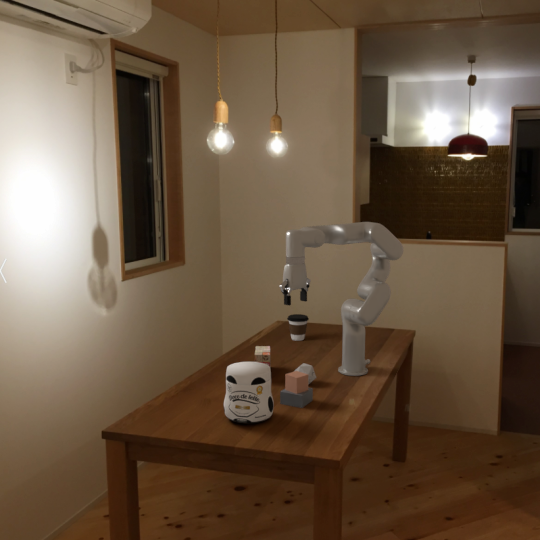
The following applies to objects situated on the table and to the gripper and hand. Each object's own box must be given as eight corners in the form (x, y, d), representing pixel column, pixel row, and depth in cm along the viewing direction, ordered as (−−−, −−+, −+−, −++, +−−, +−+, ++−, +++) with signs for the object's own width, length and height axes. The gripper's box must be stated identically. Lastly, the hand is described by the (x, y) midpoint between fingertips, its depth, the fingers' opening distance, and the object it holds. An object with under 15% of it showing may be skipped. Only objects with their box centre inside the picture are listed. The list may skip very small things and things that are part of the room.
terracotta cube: (296, 386, 238) (296, 370, 237) (308, 390, 234) (308, 374, 233) (285, 389, 234) (285, 374, 233) (296, 393, 230) (296, 378, 229)
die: (295, 388, 251) (310, 371, 248) (286, 373, 257) (300, 356, 254) (309, 391, 256) (323, 375, 253) (300, 376, 262) (314, 360, 259)
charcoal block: (291, 397, 241) (291, 384, 240) (312, 401, 237) (312, 388, 236) (280, 404, 233) (280, 391, 232) (302, 408, 229) (302, 395, 228)
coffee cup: (288, 336, 329) (288, 313, 328) (309, 336, 328) (309, 314, 326) (285, 341, 319) (286, 318, 317) (307, 342, 317) (307, 319, 315)
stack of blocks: (256, 367, 277) (256, 340, 275) (270, 367, 277) (270, 340, 275) (254, 383, 256) (254, 354, 254) (270, 383, 256) (270, 354, 254)
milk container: (233, 431, 208) (233, 378, 205) (217, 413, 224) (216, 364, 221) (281, 423, 215) (282, 372, 212) (262, 406, 231) (262, 358, 228)
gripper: (302, 257, 260) (302, 298, 262) (273, 262, 247) (273, 305, 250) (316, 259, 254) (316, 300, 257) (287, 264, 242) (287, 307, 245)
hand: (295, 303), depth 254 cm, fingers open, 9 cm apart
